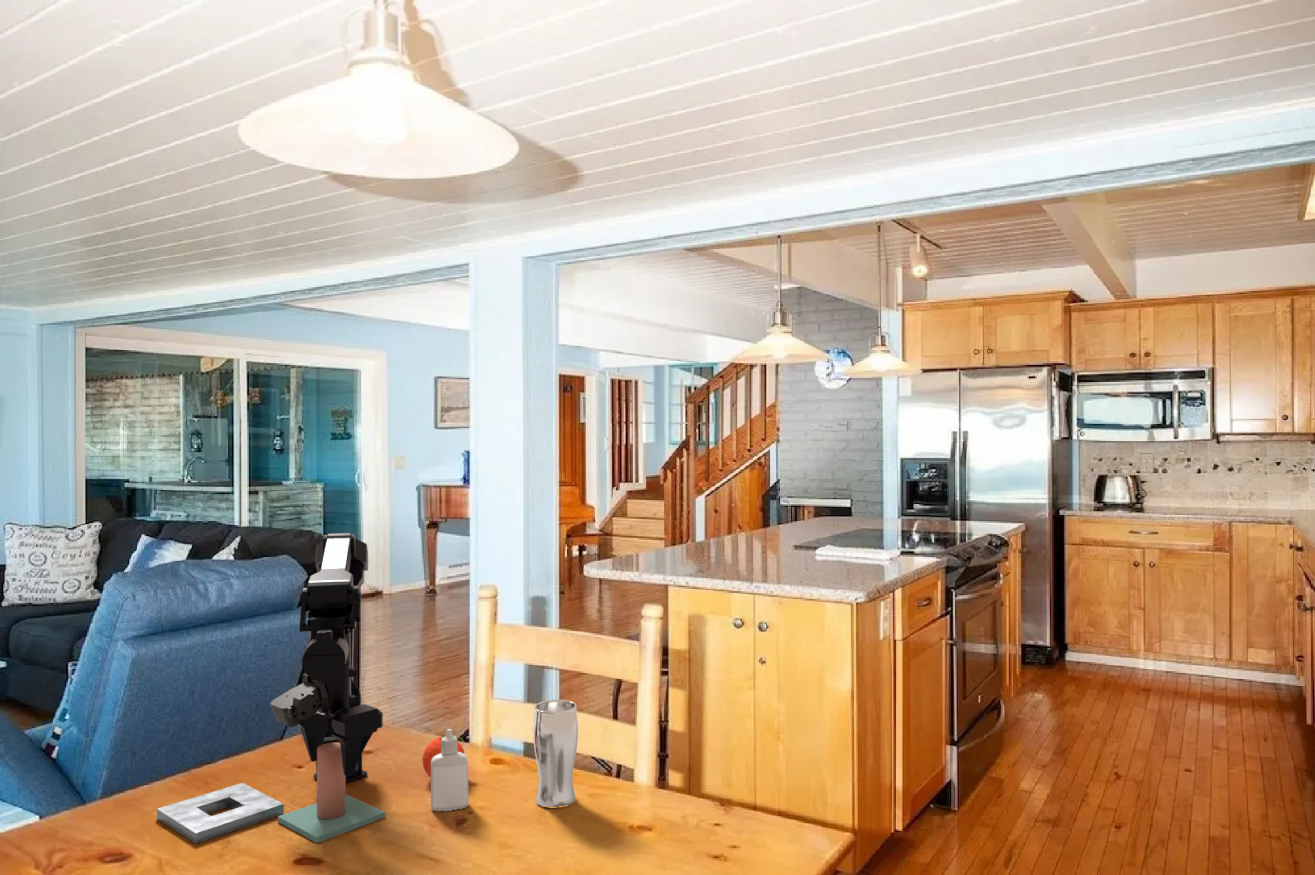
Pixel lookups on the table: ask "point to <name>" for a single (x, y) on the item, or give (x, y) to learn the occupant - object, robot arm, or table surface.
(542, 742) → the beer glass
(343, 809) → the pink rounded cylinder
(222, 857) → the table surface
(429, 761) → the clementine
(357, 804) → the rubber mat
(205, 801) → the grey square hole plate
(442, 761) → the eye dropper bottle
